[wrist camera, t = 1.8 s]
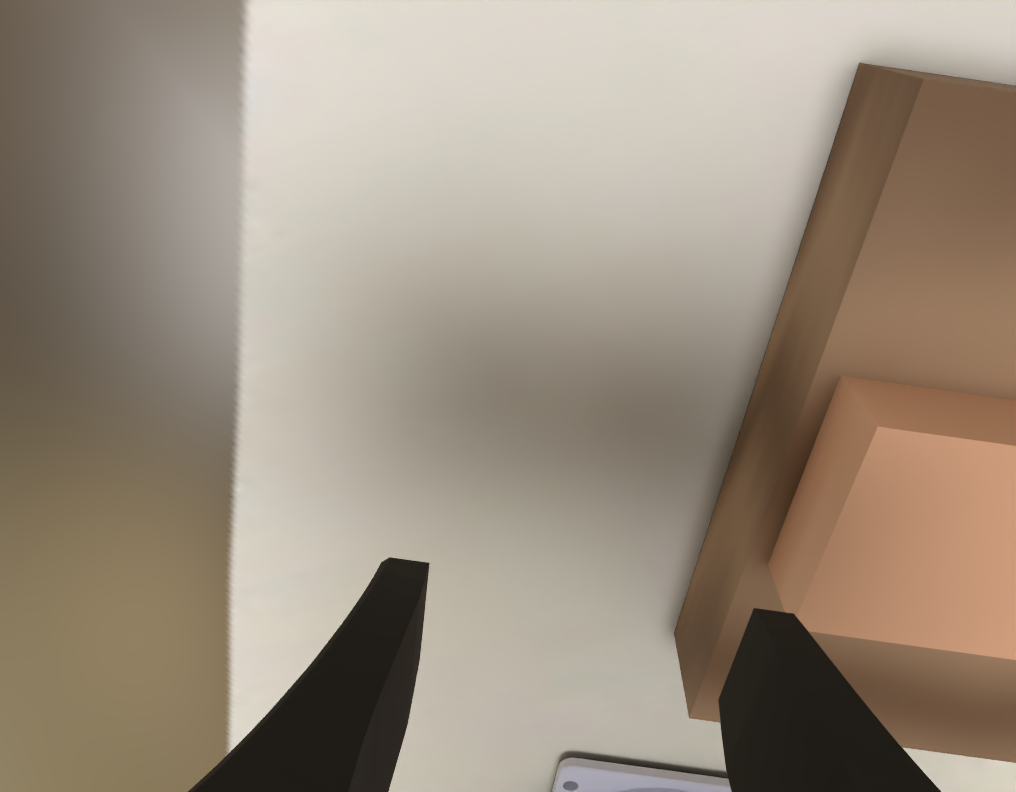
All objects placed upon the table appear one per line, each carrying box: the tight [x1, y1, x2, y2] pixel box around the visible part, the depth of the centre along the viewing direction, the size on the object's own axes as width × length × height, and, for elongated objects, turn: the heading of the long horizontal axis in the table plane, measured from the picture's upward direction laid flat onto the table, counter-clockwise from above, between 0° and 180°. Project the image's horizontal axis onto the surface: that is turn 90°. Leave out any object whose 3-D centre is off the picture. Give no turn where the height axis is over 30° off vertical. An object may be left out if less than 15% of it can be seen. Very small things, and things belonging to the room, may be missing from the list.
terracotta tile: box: [768, 376, 1016, 660], centre depth 15 cm, size 5×5×2 cm
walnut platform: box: [674, 63, 1016, 763], centre depth 18 cm, size 16×11×3 cm
